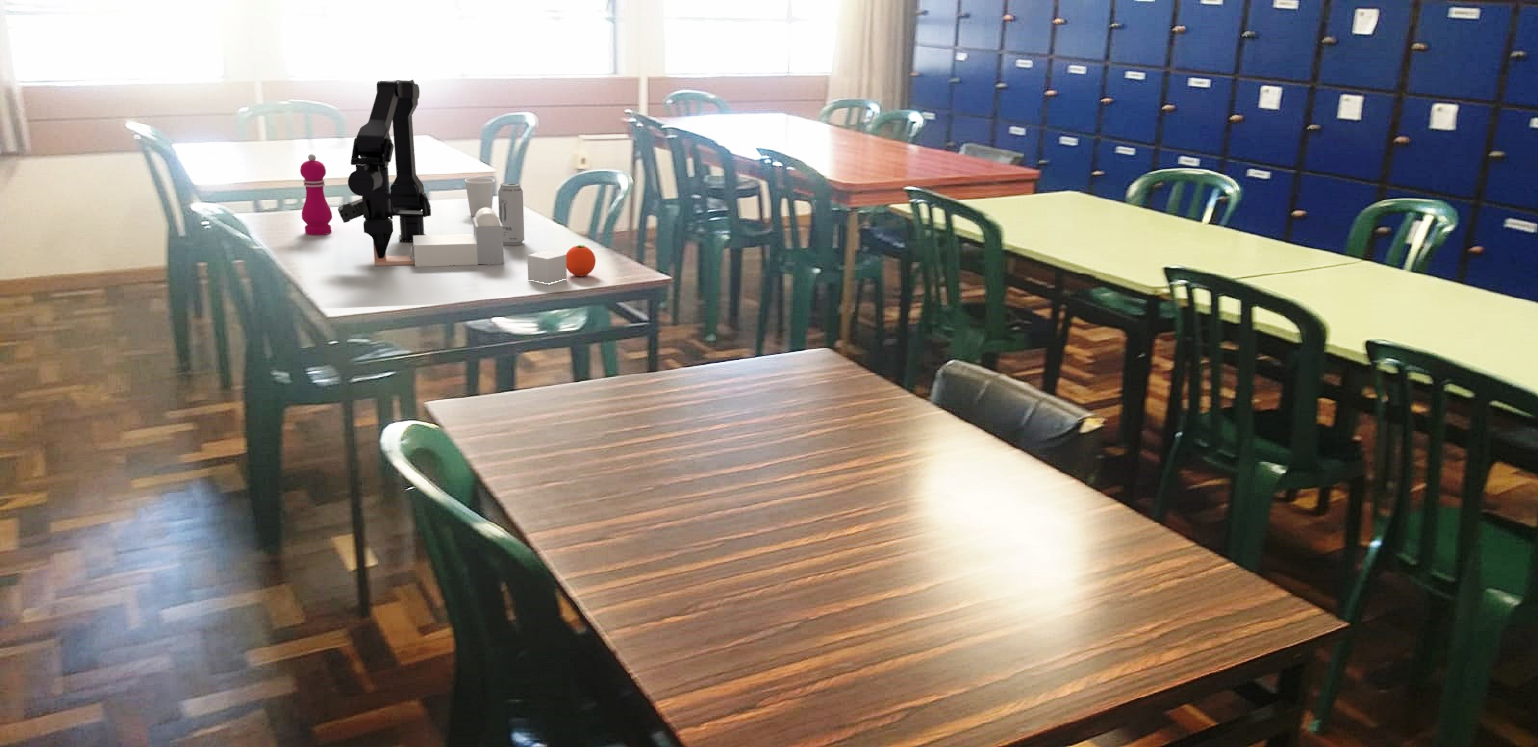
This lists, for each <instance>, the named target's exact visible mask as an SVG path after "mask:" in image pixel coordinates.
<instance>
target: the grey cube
mask: <svg viewBox="0 0 1538 747" xmlns="http://www.w3.org/2000/svg"><path fill="white" fill-rule="evenodd" d="M567 271H568V269H567V268H566V253H560V252H559V253H558V252H555V251H549V250H544V251H539V252H535V253H531V254H528V255H527V281H528V280H534V281H539V282H544V283H551V282H555V281H559V280H562V279H566V278H567V277H568V276H567ZM567 279H568V278H567Z"/></svg>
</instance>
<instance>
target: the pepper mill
mask: <svg viewBox="0 0 1538 747" xmlns="http://www.w3.org/2000/svg"><path fill="white" fill-rule="evenodd" d="M316 158H317V157H316V155H315V154H312V153H311V154H309V155H308V160H306V161H304V162H303V163H302V164H301V165H300V175H301V176H302V178H303V186H304V187H305V190H306V192H305V194H306V195H305V201H304V203H303V206H302V210H301V219H302V221H303V222H304V223H305V224H306V225H305V226H304V233H305V234H306V235H310V236H324V235H330V234H331V233H332V226H331V225H330V224H329V223H330V222H331V221H332V219H333V215H332V214H333V213H332V210H331V209H332V208H331V207H330V205H329V204H328V202H327V199H326V197H325V192H324V187H325V179H324V177H325V176H326V175H327V174H326V173H327V169H326V166H325V164H324V163H323V162H321V161H319V160H316Z"/></svg>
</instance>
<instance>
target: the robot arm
mask: <svg viewBox="0 0 1538 747" xmlns="http://www.w3.org/2000/svg"><path fill="white" fill-rule="evenodd" d="M419 99H420V85H419V84H417V83H415V81H414V79H412V78H411V79H409V78H408V79H406V78H386V79H383V80H378V81H377V82H376V95H375V99H374V101H373V105H372V109H371V113H370V115H369V118H368V121H367V122H366V123H365V124H363V125H362V126H361V127H360V128H359V131H358V132H357V134H356V137H355V138H354V140H353V146H352V152H351V160H350V165H351V166H355V170H354V171H353V172H351V173H350V175H349V176H348V179H347V185H348V188H349V190H350V191H351V192H352V193H353V194H355V195H356V196H358V197H361V198H360V199H357V200H353V201H351V202H350V201H349V202H347V203H345V204H344V203H343V205H340V206H338V208H337V211H338V213H339V217H340V218H341V220H342V222H343V223H348V222H351V220H353V219H357V218H359V217H363V218H364V220H363V224H362V225H363V232H364V234H367V235H369V236H370V237H371V238H372V242H373V241H374V244H375V248H376V251H377V255H378V258H384V255H385V252H386V251H387V249H388V246H389V243H390V240H391V237H392V235H393V232H394V227H393V226H394V224H393V223H394V222H393V217H399V225H400V226H399V228H400V229H399V230H400V234H399V235H398V239H399V242H400V243H401V242H413V236H416V235H427V234H425V224H424V218H427V217H431V216H432V212H431V211H432V209H431V203H430V201H429V199H428V196H427V193H426V192H425V188H424V184H423V182H422V181H421V179H420V178H419V176H418V175H417V170H416V168H417V167H416V158H415V157H416V156H415V143H414V141H415V140H414V129H413V127H414V126H413V114H414V112H415V111H416V109H417V106H418V104H419ZM391 125H392V133H393V141H392V138H391V135H390V130H391ZM393 153H394V157H395V158H394V159H395V172H396V177H395V179H394V180H393V182H392V184H391V185H390V178H389V165H390V164H389V163H391V161H392V156H393ZM386 253H387V252H386Z"/></svg>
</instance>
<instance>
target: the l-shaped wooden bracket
mask: <svg viewBox="0 0 1538 747" xmlns="http://www.w3.org/2000/svg"><path fill="white" fill-rule="evenodd" d="M372 244H373V245H372V246H373V258H374V260H373V261H374V266H394V265H395V266H396V265H397V266H400V265H401V266H402V265H405V266H406V265H415V259H414V260H412V259H411V254H408V255H407V254H405V255H387V254H386V253H387V252H385V255H384V258H378V255H377V251H376V248H375V244H374V241H373V240H372Z"/></svg>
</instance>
